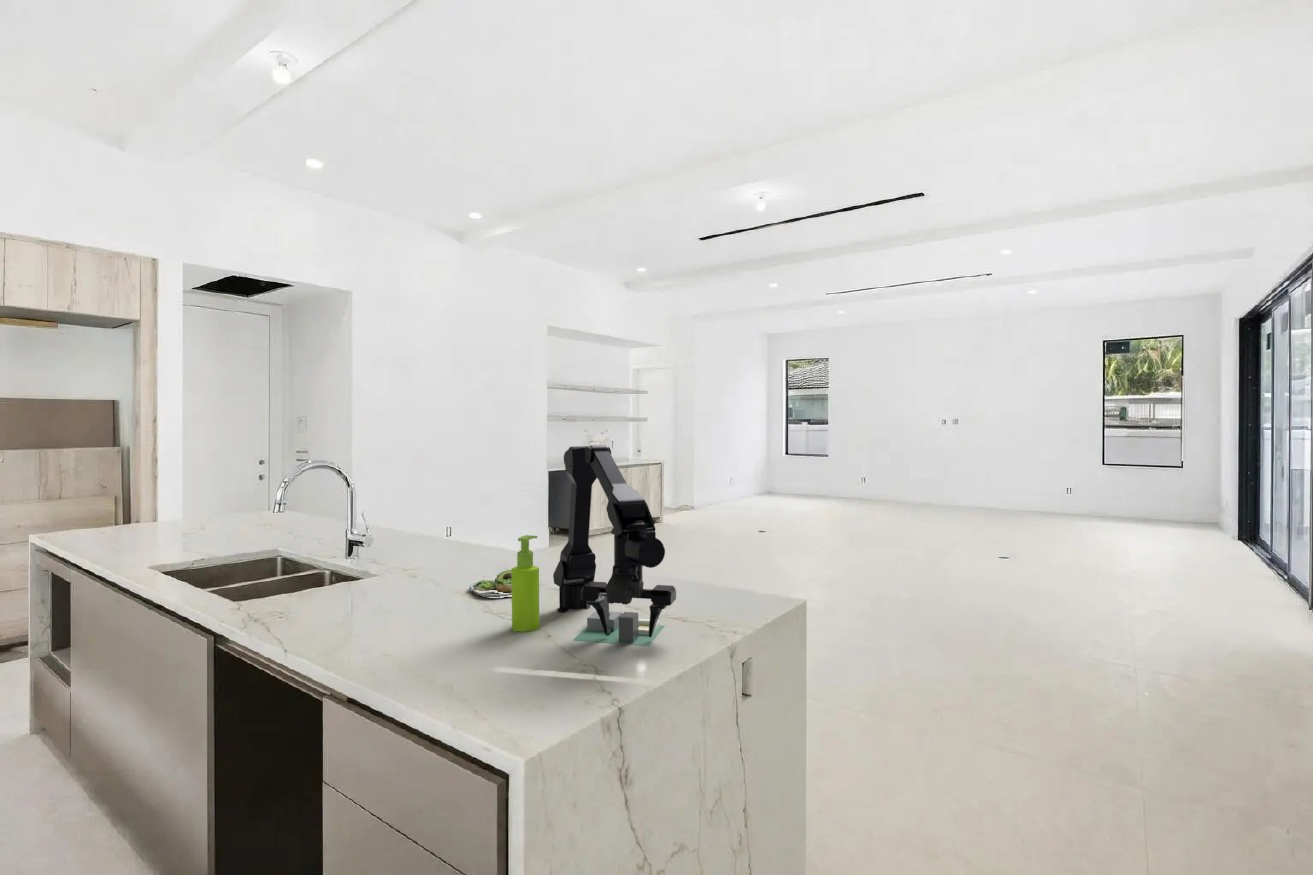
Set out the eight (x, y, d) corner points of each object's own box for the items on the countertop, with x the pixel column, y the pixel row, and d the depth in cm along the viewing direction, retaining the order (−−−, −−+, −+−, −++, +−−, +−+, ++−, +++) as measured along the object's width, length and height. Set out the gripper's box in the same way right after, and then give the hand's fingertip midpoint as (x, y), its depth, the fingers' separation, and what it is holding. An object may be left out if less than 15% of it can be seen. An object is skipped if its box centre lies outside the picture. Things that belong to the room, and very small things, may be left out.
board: (572, 644, 141) (572, 625, 141) (595, 624, 155) (595, 607, 155) (648, 649, 137) (648, 631, 137) (665, 628, 151) (665, 611, 151)
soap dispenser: (546, 623, 156) (545, 534, 155) (530, 632, 149) (530, 539, 149) (523, 621, 158) (522, 533, 157) (506, 630, 151) (506, 538, 151)
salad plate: (551, 596, 181) (551, 579, 181) (482, 605, 173) (482, 586, 173) (528, 582, 198) (528, 565, 198) (465, 589, 190) (464, 572, 190)
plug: (618, 641, 140) (618, 617, 140) (625, 634, 145) (625, 610, 145) (633, 642, 139) (633, 618, 139) (639, 635, 144) (639, 611, 144)
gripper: (570, 564, 136) (571, 644, 136) (664, 568, 131) (664, 651, 132) (589, 554, 146) (590, 627, 147) (676, 557, 142) (676, 633, 142)
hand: (628, 635), depth 142 cm, fingers open, 9 cm apart
